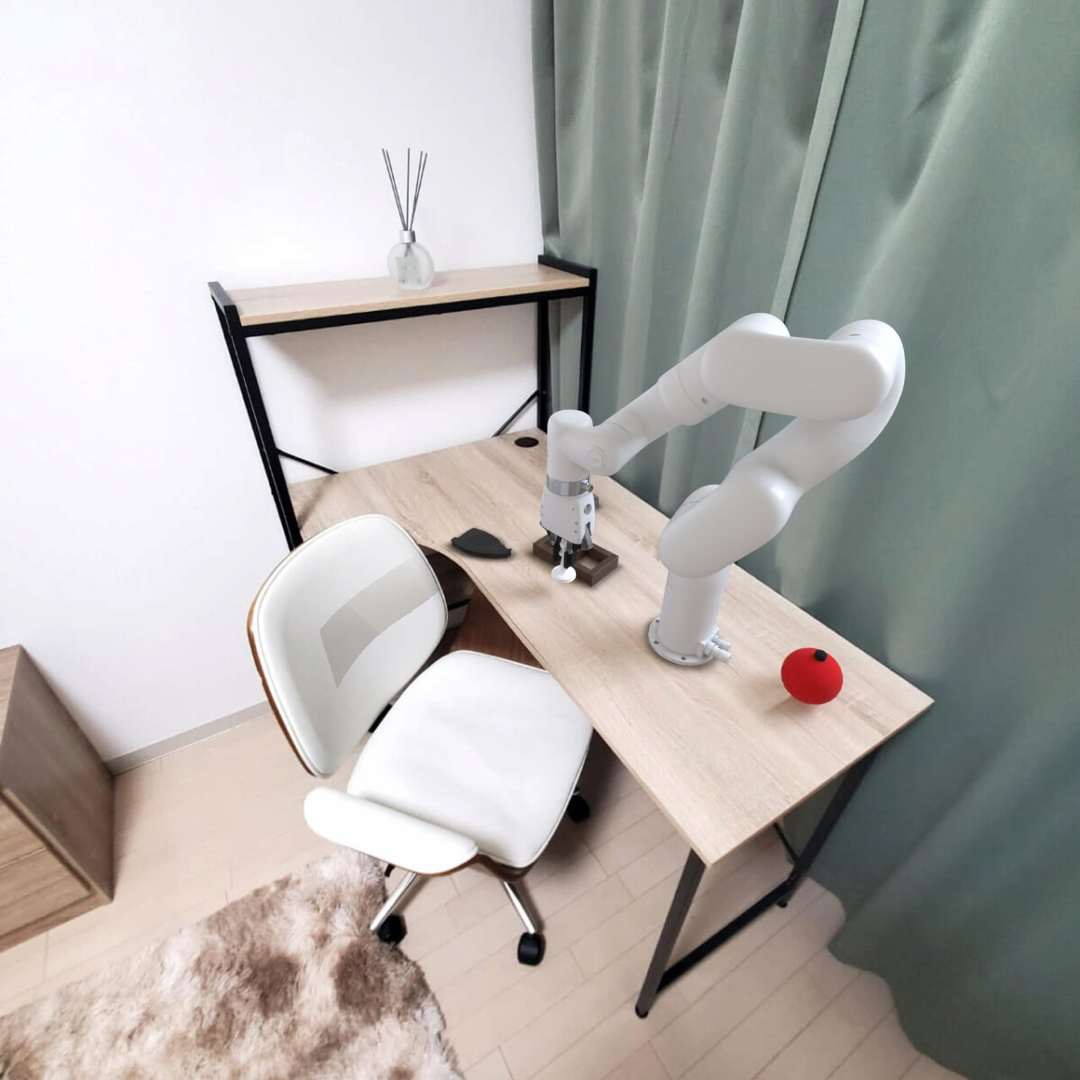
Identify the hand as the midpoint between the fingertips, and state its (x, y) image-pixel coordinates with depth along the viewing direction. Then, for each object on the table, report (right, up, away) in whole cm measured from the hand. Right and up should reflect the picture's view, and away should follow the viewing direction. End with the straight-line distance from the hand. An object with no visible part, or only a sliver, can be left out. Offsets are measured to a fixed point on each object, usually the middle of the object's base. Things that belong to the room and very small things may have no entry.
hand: (564, 561), depth 105 cm
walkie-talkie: (+5, +13, +31) cm, 34 cm away
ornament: (+39, -21, -16) cm, 47 cm away
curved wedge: (-19, +2, +17) cm, 25 cm away
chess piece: (0, -3, +2) cm, 4 cm away
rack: (+3, 0, +13) cm, 13 cm away
